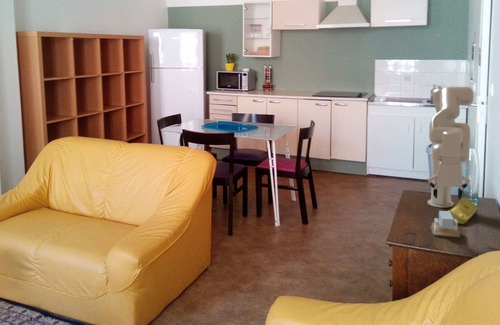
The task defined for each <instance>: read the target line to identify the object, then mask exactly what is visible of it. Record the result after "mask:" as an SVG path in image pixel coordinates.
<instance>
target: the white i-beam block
mask: <svg viewBox="0 0 500 325" xmlns="http://www.w3.org/2000/svg"><path fill="white" fill-rule="evenodd" d="M433 219H434V220H433V221H434V222H433V223H434V231H435V230H456V231H457V230H458V227H459V226H458V224H459V223H458V222H457V220H456V219H454V222H453V228H442V226H441V224H440V221H439V217H438V218H437V217H434V218H433Z"/></svg>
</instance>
